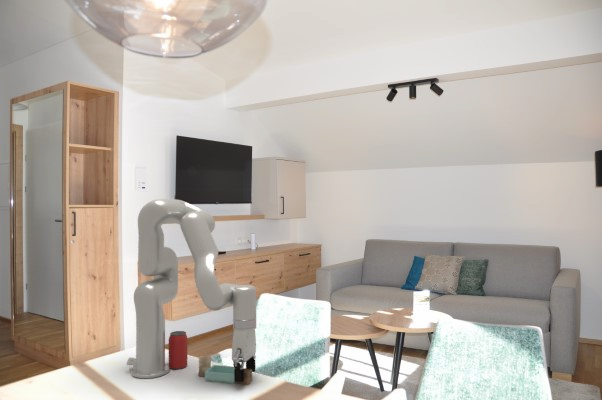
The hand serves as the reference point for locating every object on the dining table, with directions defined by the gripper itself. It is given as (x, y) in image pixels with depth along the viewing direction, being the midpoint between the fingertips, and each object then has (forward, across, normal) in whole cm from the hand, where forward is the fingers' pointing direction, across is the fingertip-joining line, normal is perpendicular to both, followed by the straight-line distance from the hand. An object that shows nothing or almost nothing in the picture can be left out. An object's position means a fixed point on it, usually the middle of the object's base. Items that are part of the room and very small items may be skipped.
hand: (245, 376), depth 158 cm
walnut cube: (+2, 0, 0) cm, 2 cm away
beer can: (+2, -8, -29) cm, 30 cm away
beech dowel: (+2, -3, -16) cm, 16 cm away
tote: (+2, -2, -8) cm, 9 cm away
